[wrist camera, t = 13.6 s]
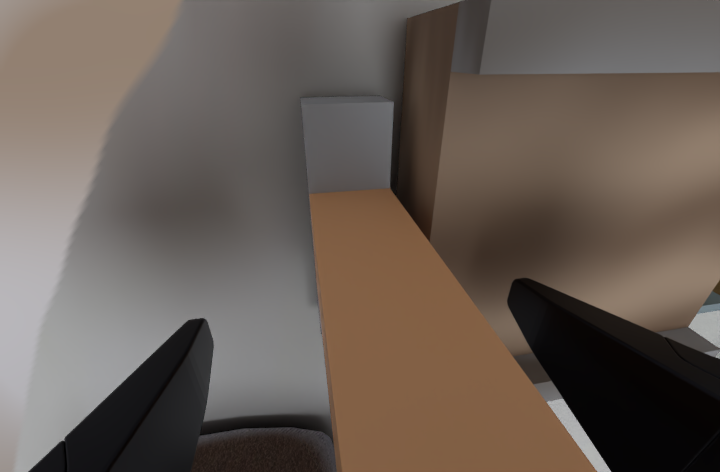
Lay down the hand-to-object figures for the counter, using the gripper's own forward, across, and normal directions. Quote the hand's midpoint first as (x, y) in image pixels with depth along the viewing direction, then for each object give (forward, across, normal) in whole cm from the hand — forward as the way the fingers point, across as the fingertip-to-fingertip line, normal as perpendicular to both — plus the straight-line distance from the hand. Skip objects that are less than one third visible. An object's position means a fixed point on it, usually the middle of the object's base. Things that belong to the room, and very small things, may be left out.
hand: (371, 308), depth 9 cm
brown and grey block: (+6, 0, 0) cm, 6 cm away
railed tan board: (+6, -10, 0) cm, 12 cm away
